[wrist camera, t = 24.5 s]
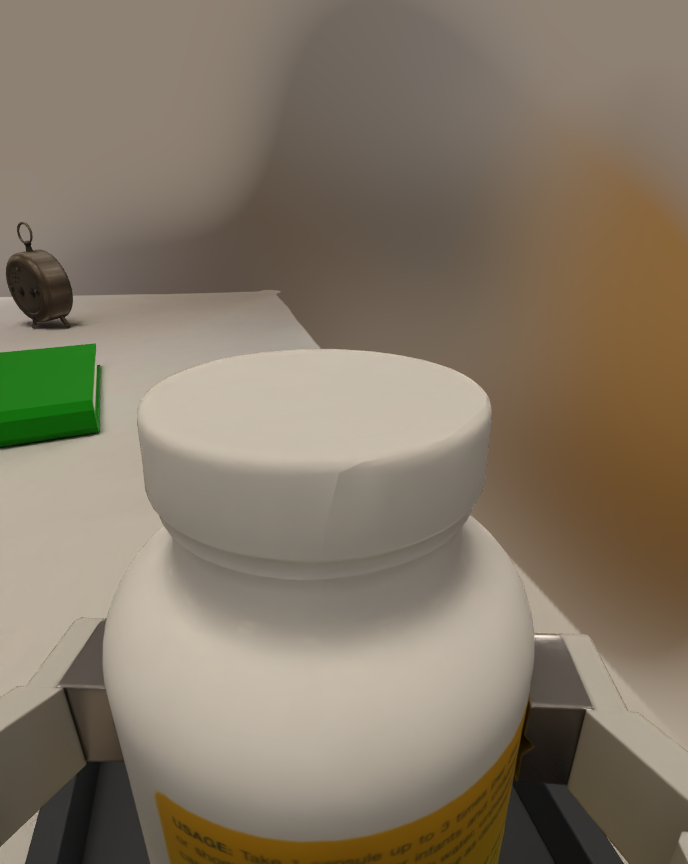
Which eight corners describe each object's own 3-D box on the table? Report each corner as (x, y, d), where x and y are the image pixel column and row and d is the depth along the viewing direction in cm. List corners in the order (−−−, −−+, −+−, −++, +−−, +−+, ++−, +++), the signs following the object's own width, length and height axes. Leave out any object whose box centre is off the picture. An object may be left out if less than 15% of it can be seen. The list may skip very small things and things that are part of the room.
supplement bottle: (541, 958, 11) (700, 408, 6) (271, 1297, 8) (129, 669, 3) (358, 727, 16) (363, 320, 11) (145, 870, 13) (12, 371, 8)
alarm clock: (82, 326, 86) (59, 221, 79) (51, 333, 81) (24, 222, 75) (42, 320, 91) (18, 221, 84) (11, 326, 86) (-17, 222, 80)
